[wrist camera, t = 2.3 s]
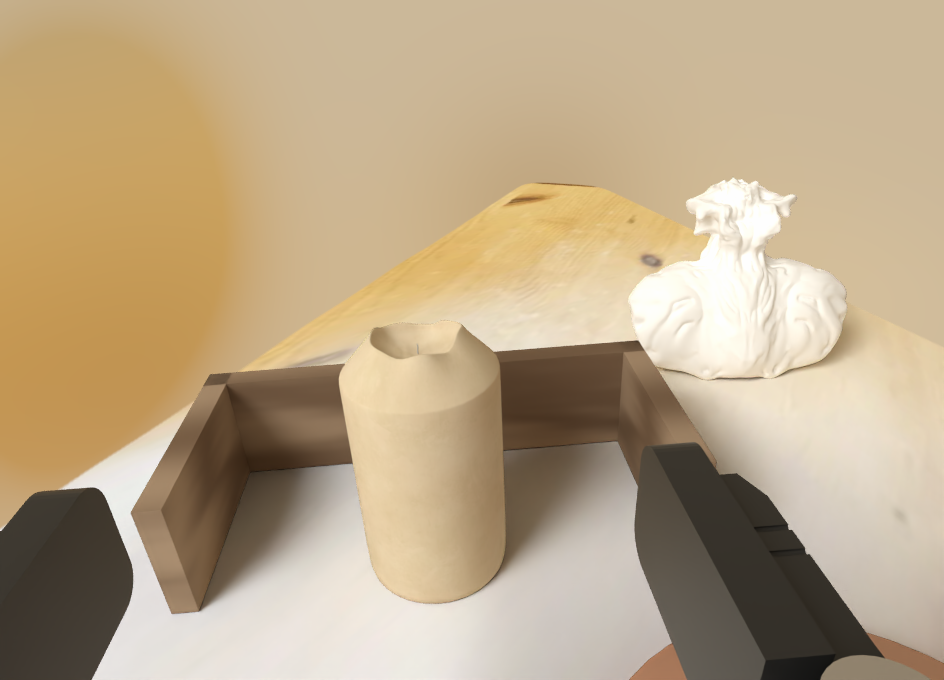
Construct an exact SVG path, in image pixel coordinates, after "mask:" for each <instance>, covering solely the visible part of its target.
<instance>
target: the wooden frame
mask: <svg viewBox="0 0 944 680" xmlns="http://www.w3.org/2000/svg"><path fill="white" fill-rule="evenodd" d="M494 353H495V354H496V356H497V358H498V360H499V364H500V381H501V409H502V436H503V450H512V449H523V448H535V447H547V446H559V445H570V444H582V443H594V442H605V441H618V443H619V445H620V447H621V450H622V452H623V454H624V456H625V459H626V461H627V463H628V465H629V467H630V470H631V472H632V474H633V476H634V479H635V481H636V483H637V485H638V483H639V473H640V462H641V455H642V451H643V449H644V447H645V446H649V445H662V444H675V443H688V442H696V443H698V444H699V445H700V446H701V447H702V449H703V450H704V452H705V453H706V455H707V456H708V458H709V460H710V461H711V463H712V464H713V466H714V467H715V469H716V463H717V461H716V460H715V458H714V457H713V455H712V454H711V452H710V450H709V449H708V447H707V446H706V444H705V443H704V441H703V440H702V438H701V437H700V435H699V433H698V432H697V430H696V429H695V427H694V426H693V424H692V423H691V421H690V419H689V418H688V416H687V415H686V413H685V412H684V410H683V409H682V407H681V406H680V404H679V402H678V401H677V399H676V398H675V396H674V395H673V393H672V392H671V390H670V388H669V387H668V385H667V384H666V382H665V381H664V379H663V378H662V376H661V375H660V373H659V371H658V370H657V368H656V367H655V365H654V364H653V362H652V361H651V359H650V357H649V356H648V354H647V353H646V351H645V350H644V348H643V347H642V345H641V344H640V342H639V340H638V341H625V342H613V343H600V344H587V345H575V346H562V347H550V348H537V349H525V350H512V351H499V352H494ZM344 365H345V364H336V365H323V366H311V367H298V368H286V369H273V370H260V371H248V372H236V373H223V374H211V375H209V377H208V379H207V381H206V382H205V384H204V386H203V388H202V389H201V391H200V393H199V395H198V396H197V398H196V400H195V401H194V403H193V405H192V407H191V408H190V410H189V412H188V414H187V415H186V417H185V419H184V421H183V422H182V424H181V426H180V428H179V429H178V431H177V433H176V435H175V436H174V438H173V440H172V442H171V443H170V445H169V447H168V449H167V450H166V452H165V454H164V455H163V457H162V459H161V461H160V462H159V464H158V466H157V468H156V469H155V471H154V473H153V475H152V476H151V478H150V480H149V482H148V483H147V485H146V487H145V489H144V490H143V492H142V494H141V496H140V497H139V499H138V501H137V503H136V504H135V506H134V508H133V509H132V511H131V515H132V517H133V520H134V522H135V525H136V527H137V530H138V532H139V535H140V537H141V539H142V542H143V544H144V547H145V549H146V552H147V554H148V557H149V559H150V562H151V564H152V567H153V569H154V571H155V574H156V576H157V579H158V581H159V584H160V586H161V589H162V591H163V594H164V596H165V599H166V601H167V604H168V606H169V608H170V611H171V613H172V614H175V613H186V612H197V611H199V610H200V607H201V604H202V601H203V599H204V596H205V593H206V591H207V588H208V585H209V582H210V580H211V577H212V574H213V572H214V569H215V566H216V563H217V561H218V558H219V555H220V553H221V550H222V547H223V544H224V542H225V539H226V536H227V534H228V531H229V528H230V525H231V523H232V520H233V517H234V515H235V512H236V509H237V506H238V504H239V501H240V498H241V495H242V493H243V490H244V487H245V485H246V482H247V479H248V476H249V474H250V472H254V471H266V470H277V469H289V468H301V467H312V466H324V465H336V464H348V463H353V461H352V455H351V450H350V444H349V439H348V433H347V427H346V422H345V416H344V410H343V405H342V399H341V393H340V388H339V375H340V372H341V370H342V368H343V366H344Z"/></svg>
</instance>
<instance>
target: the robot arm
mask: <svg viewBox="0 0 944 680" xmlns="http://www.w3.org/2000/svg"><path fill="white" fill-rule="evenodd" d="M635 540H636V547H637V552H638V556H639V560H640V563H641V566H642V569H643V571H644V574H645V576H646V579H647V581H648V584H649V586H650V589H651V591H652V594H653V596H654V599H655V601H656V604H657V606H658V609H659V611H660V614H661V616H662V619H663V621H664V624H665V626H666V629H667V631H668V634H669V636H670V639H671V641H672V644H673V646H674V649H675V651H676V654H677V656H678V659H679V661H680V664H681V666H682V669H683V671H684V674H685V676H686V679H687V680H931V679H930V678H928V677H926V676H925V675H923V674H921V673H920V672H918V671H916V670H914V669H912V668H910V667H908V666H906V665H903V664H901V663H898V662H895V661H892V660H889V659H886V658H885V657H884V656H883V655H882V653H881V652H880V651H879V650H878V648H877V647H876V646H875V644H874V643H873V641H872V640H871V639H870V637H869V636H868V635H867V633H866V632H865V630H864V629H863V628H862V626H861V625H860V623H859V622H858V621H857V619H856V618H855V617H854V615H853V614H852V612H851V611H850V610H849V608H848V607H847V605H846V604H845V603H844V601H843V600H842V598H841V597H840V596H839V594H838V593H837V592H836V590H835V589H834V587H833V586H832V585H831V583H830V582H829V580H828V579H827V578H826V576H825V575H824V574H823V572H822V571H821V569H820V568H819V567H818V565H817V564H816V562H815V561H814V560H813V558H812V557H811V556H810V554H806V552H805V547H804V546H803V544H802V543H801V542H800V540H799V539H798V538H797V536H796V535H795V533H794V532H793V531H792V530H789V529H788V524H787V522H786V521H785V520H784V518H783V517H782V515H781V514H780V513H779V511H778V510H777V508H776V507H775V506H774V504H773V503H772V501H771V500H770V499H769V497H768V496H767V495H765V494H764V493H763V492H761V491H760V490H759V489H757V488H756V487H754V486H753V485H752V484H750V483H749V482H748V481H746V480H745V479H744V478H742V477H741V476H739V475H738V474H737V473H736V474H724V475H719V473H718V472H717V470H716V469H715V467H714V466H713V464H712V463H711V461H710V460H709V458H708V456H707V455H706V453H705V452H704V450H703V449H702V447H701V446H700V445H699V444H698V443H696V442H688V443H675V444H662V445H649V446H645V447H644V449H643V451H642V455H641V462H640V473H639V483H638V493H637V503H636V513H635ZM132 589H133V569H132V564H131V561H130V558H129V556H128V553H127V551H126V548H125V546H124V543H123V541H122V538H121V536H120V533H119V531H118V528H117V526H116V523H115V521H114V518H113V516H112V513H111V510H110V508H109V505H108V503H107V500H106V498H105V496H104V495H103V493H102V492H101V491H100V490H99V489H97V488H79V489H67V490H54V491H42V492H37V493H35V494H33V495H32V496H31V497H29V499H28V500H27V501H26V502H25V503H24V505H22V507H21V508H20V509H19V510H18V512H17V513H16V514H15V515H14V516H13V518H12V519H11V520H10V521H9V523H8V524H7V525H6V526H5V527H4V529H3V530H2V531H0V680H92V678H93V676H94V674H95V672H96V670H97V668H98V666H99V664H100V662H101V660H102V658H103V656H104V654H105V652H106V650H107V648H108V646H109V644H110V642H111V640H112V638H113V636H114V634H115V632H116V630H117V628H118V626H119V624H120V622H121V620H122V618H123V616H124V614H125V612H126V610H127V607H128V605H129V602H130V599H131V595H132Z"/></svg>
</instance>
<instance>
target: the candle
mask: <svg viewBox="0 0 944 680" xmlns="http://www.w3.org/2000/svg"><path fill="white" fill-rule="evenodd" d="M339 388H340V393H341V399H342V405H343V410H344V416H345V422H346V427H347V433H348V439H349V444H350V450H351V455H352V461H353V467H354V472H355V478H356V484H357V489H358V495H359V501H360V506H361V512H362V517H363V523H364V529H365V534H366V540H367V545H368V550H369V555H370V560H371V563H372V566H373V569H374V571H375V573H376V575H377V577H378V579H379V580H380V582H381V583H382V584H383V585H384V586H385V587H386V588H387V589H388V590H390V591H391V592H392V593H394V594H396V595H398V596H399V597H402V598H404V599H407V600H410V601H414V602H419V603H433V604H436V603H446V602H451V601H455V600H458V599H461V598H464V597H466V596H469V595H471V594H473V593H474V592H476V591H478V590H479V589H481V588H482V587H483V586H485V585H486V584H487V583H488V582H489V581H490V580H491V579H492V578H493V577H494V576H495V574H496V573H497V571H498V570H499V568H500V566H501V564H502V561H503V558H504V553H505V547H506V520H505V492H504V464H503V436H502V409H501V381H500V364H499V360H498V358H497V356H496V354H495V353H494V352H493V351H492V350H491V349H490V348H489V347H488V346H486V345H485V344H484V343H483V342H481V341H480V340H479V339H477V338H476V337H475V336H473V335H472V334H471V333H470V332H469V331H467V330H466V328H465V327H464V326H463V325H462V324H460V323H458V322H453V321H448V320H441V321H439V322H437V323H435V324H412V323H395V324H390V325H387V326H384V327H381V328H374V329H372V330H371V332H370V334H369V335H368V337H367V338H366V339H365V340H364V342H363V343H362V344H361V345H360V347H359V348H358V349H357V350H356V351H355V353H354V354H353V355H352V356H351V357H350V359H349V360H348V361H347V362H346V364H345V365H344V366H343V368H342V370H341V372H340V375H339Z"/></svg>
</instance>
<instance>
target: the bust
mask: <svg viewBox="0 0 944 680" xmlns="http://www.w3.org/2000/svg"><path fill="white" fill-rule="evenodd" d="M796 200H797V196H796V195H794V194H791V195H790V194H789V195H787V196H781V195H779V194H777V193H775V192H770V191H769V190H767V189H765V188H764V187H762V186H760V185H759V182H758V181H754V182H752V183H746V182H745V181H743V180H742V179H741V180H737V179H734V177H733V178H732V179H731V180H730V181H729V182H726V180H723V181H722V182H720V183H718V184H714V185H712V186H710V187H709V188H708V189H707V191H706V192H705V193H703V194H701V195H698V196H697V197H696V198H692V199H689V200H688V201H687V202H686V207H687V210H688V211H689V213H691V214H696V228H695V231H694V235H701V234H704V233H710V234H711V237H710V239H709V241H708V244H707V247H706V248H705V249H704V250H703V251H702V253H701V258H700V260H698V261H693V262H692V261H680V262H676V263H674V264H671V265H668V266H666V267H664V268H663V269H661V270H660V271H659V272H657V273H653V274H649V275H647V276H646V277H644V278H643V279H642V280H641V281H640V282H639V283H638V285H637V286H636V287H635V288H634V290H633V291H632V293H631V294H630V296H629V298H628V303H629V305H630V311H631V314H632V317H631V320H632V325H633V327H634V330H635V334H636V337H637V341H638V340H639V342H640V344H641V345H642V347H643V348H644V350H645V351H646V353H647V354H648V356H649V357H650V359H651V361H652V362H653V364H654V365H655V366H657V367H661V368H665V369H670V370H677V371H683V372H686V373H689V374H691V375H694V376H696V377H698V378H700V379H704V380H711V379H714V378H718V377H722V378H739V377H743V378H750V377H764V378H767V379H772V378H775V377H777V376H779V375H780V374H782V373H784V372H786V371H787V370H790V369H793V368H798V367H802V366H806V365H810V364H813V363H816V362H818V361H820V360H822V359H823V358H824V357H826V356H827V354H828V353H829V352H830V351H831V350H832V348H833V347H834V345H835V344H836V342H837V341H838V339H839V337H840V335H841V332H842V330H843V327H842V323H843V320H844V318H845V316H846V312H847V303H846V301H845V299H846V295H847V294H846V289H845V287H844V285H843V284H842V283H841V282H840V281H839V280H838V279H837V278H836V277H835V276H834V275H832V274H831V273H830V272H828V271H826V270H822V269H815V268H813V267H812V266H810V265H808V264H805V263H802V262H799V261H796V260H792V259H788V258H778V259H773V258H771V257H769V256H767V255H766V254H765V247H766V244H767V243H768V240H769V239H771V238H772V237H773V236H774V235H775V234H777V233H779V232H780V229H781V218H780V216H779V215H778V213H779V214H781V215H782V216H783V217H788V216H790V207H791V206H792V205H793V204H794V203H795V202H796Z"/></svg>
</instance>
